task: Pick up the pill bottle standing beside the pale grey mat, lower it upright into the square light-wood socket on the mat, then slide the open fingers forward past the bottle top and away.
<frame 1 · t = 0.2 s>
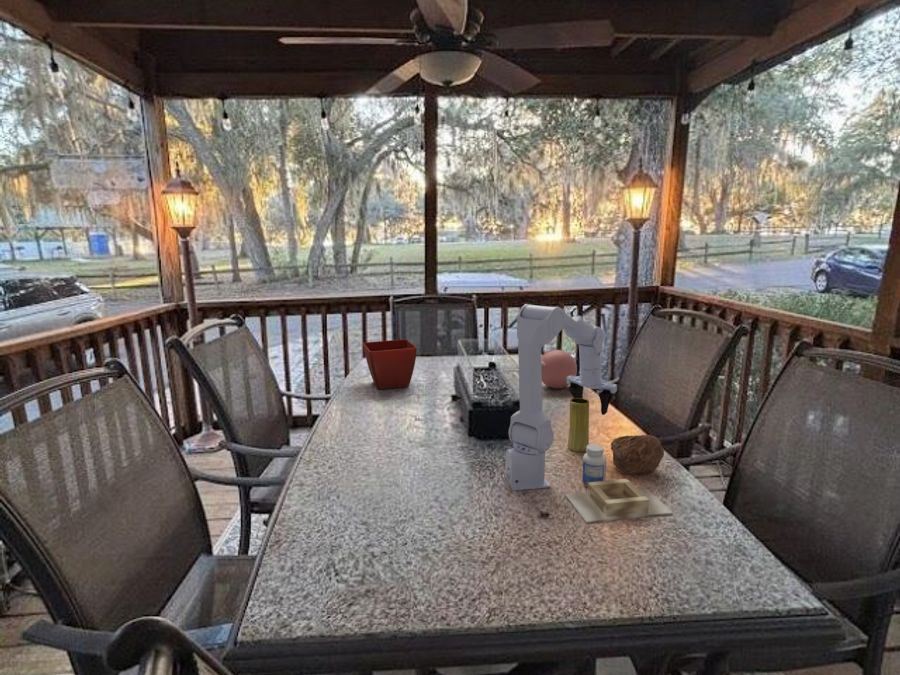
hand: (592, 410, 146), 11 cm above the table, tool pointing down, fingers open, 7 cm apart
pill bottle: (593, 484, 125), on the table
decorative rock: (635, 471, 132), on the table
vase: (578, 448, 146), on the table
balloon: (550, 388, 204), on the table
socket block: (616, 504, 116), on the table
plant pot: (390, 384, 211), on the table
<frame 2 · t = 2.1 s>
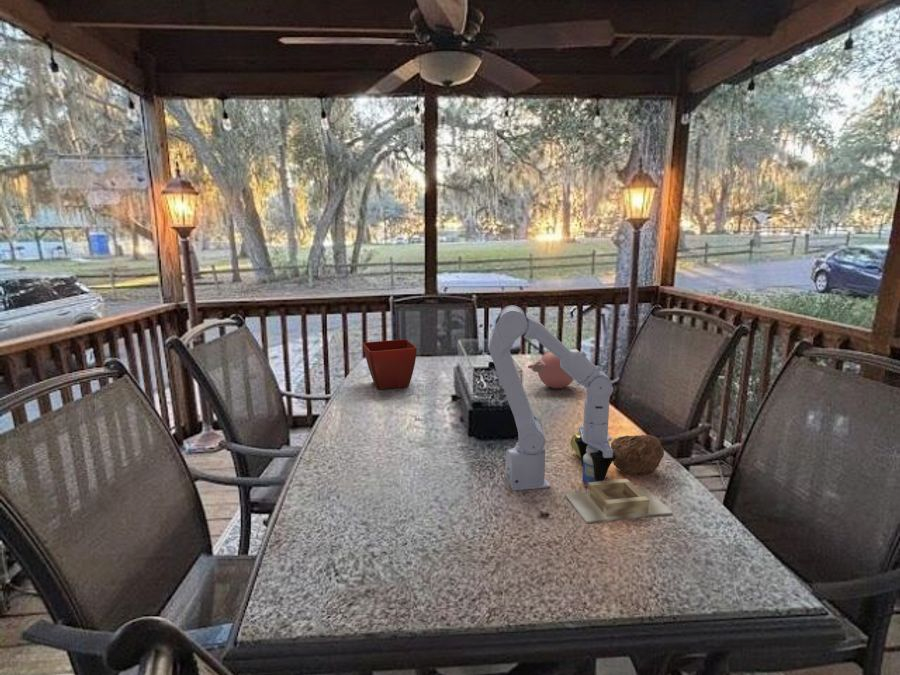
hand: (593, 472, 125), 3 cm above the table, tool pointing down, fingers open, 7 cm apart
vase: (580, 441, 143), point 3 cm above the table, touching gripper
everything else where it was.
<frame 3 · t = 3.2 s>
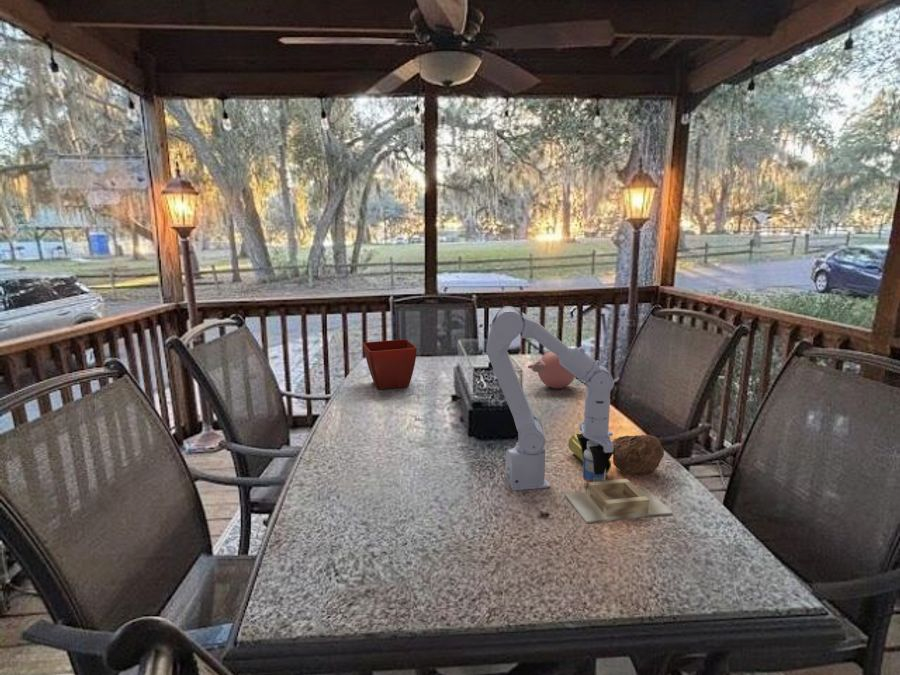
hand: (593, 468, 124), 4 cm above the table, tool pointing down, fingers closed on pill bottle, 5 cm apart
pill bottle: (593, 480, 125), point 1 cm above the table, touching gripper
vase: (578, 442, 143), point 3 cm above the table
everything else where it was.
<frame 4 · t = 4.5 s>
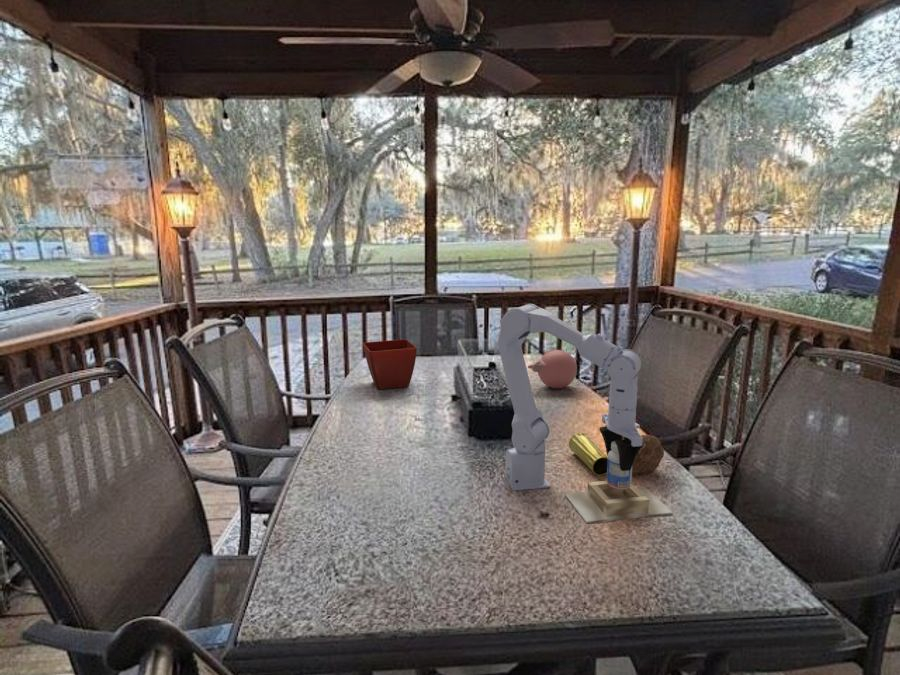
hand: (618, 463, 114), 10 cm above the table, tool pointing down, fingers closed on pill bottle, 5 cm apart
pill bottle: (618, 484, 115), point 5 cm above the table, touching gripper
everything else where it was.
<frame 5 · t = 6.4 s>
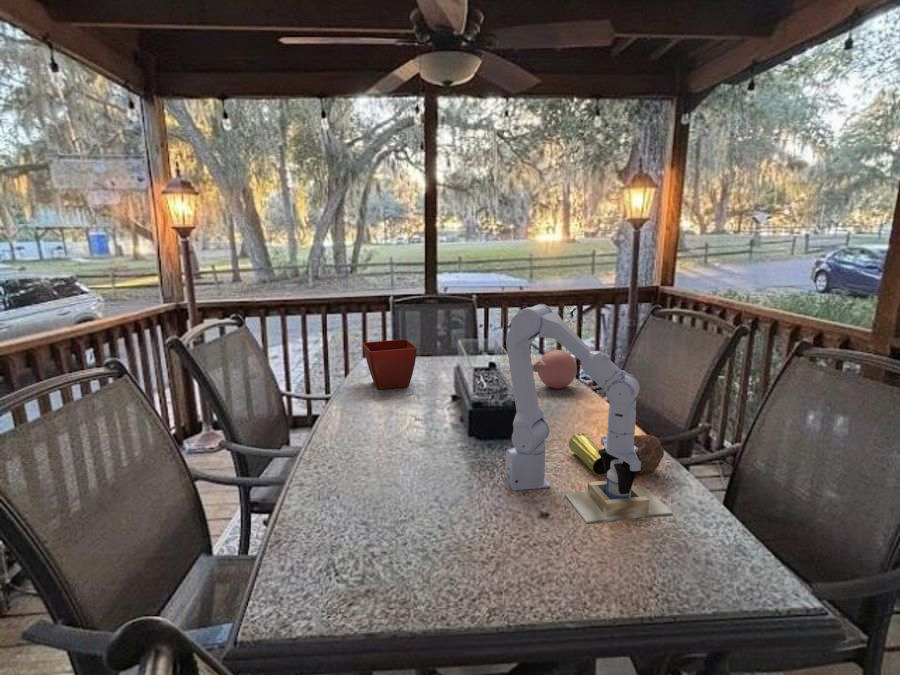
hand: (617, 486, 115), 4 cm above the table, tool pointing down, fingers closed on pill bottle, 5 cm apart
pill bottle: (617, 503, 116), resting on socket block, touching gripper
everything else where it was.
when the fingers open (4 cm above the table, at t = 6.4 s): pill bottle stays where it is, resting on socket block.
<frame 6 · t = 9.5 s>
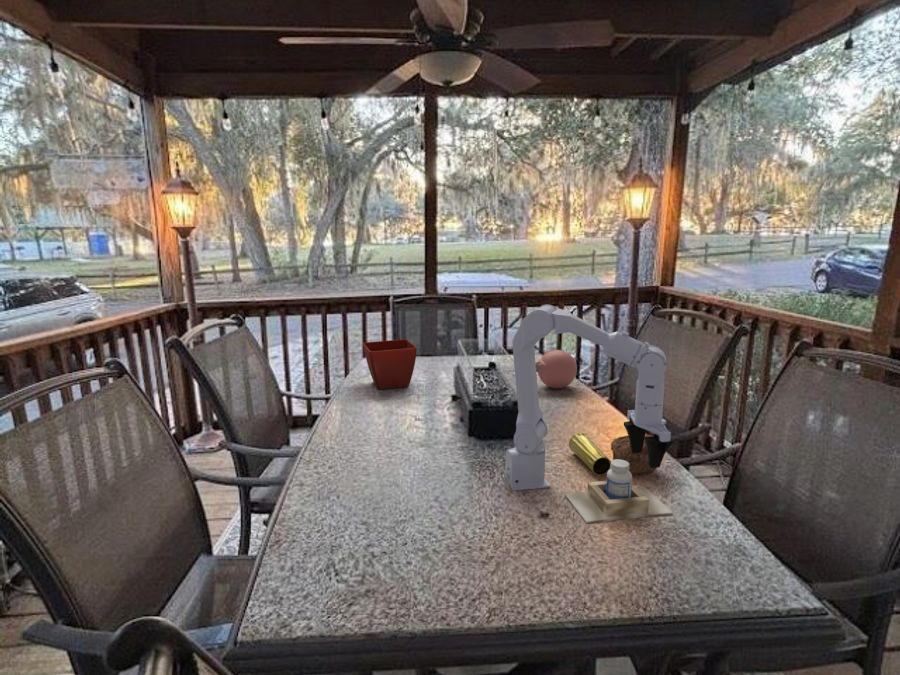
hand: (645, 459, 115), 10 cm above the table, tool pointing down, fingers open, 7 cm apart
pill bottle: (617, 503, 116), resting on socket block
everything else where it was.
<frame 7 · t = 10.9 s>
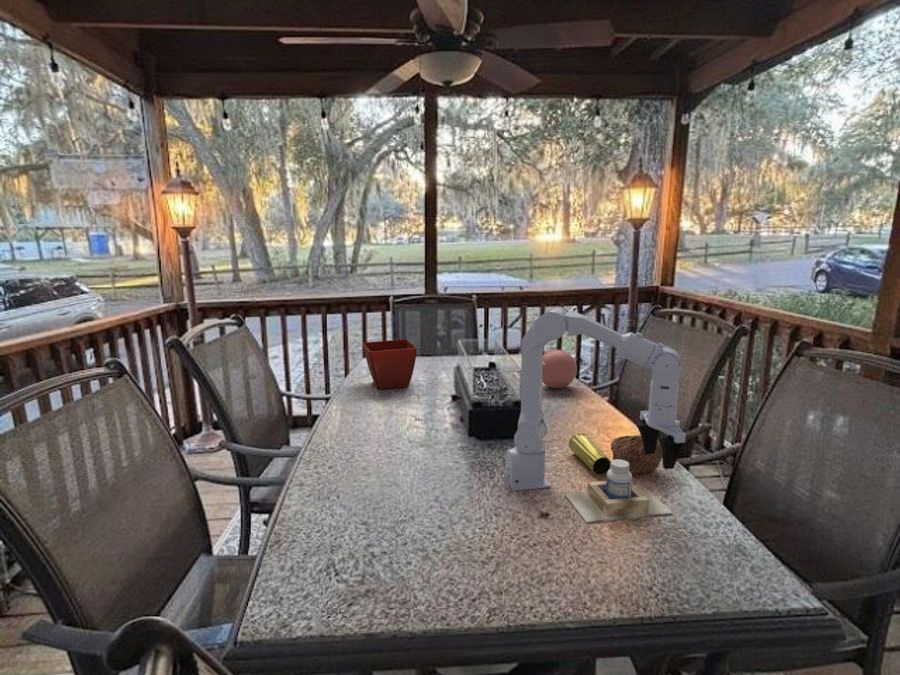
hand: (658, 460, 114), 10 cm above the table, tool pointing down, fingers open, 7 cm apart
nothing on the table moved.
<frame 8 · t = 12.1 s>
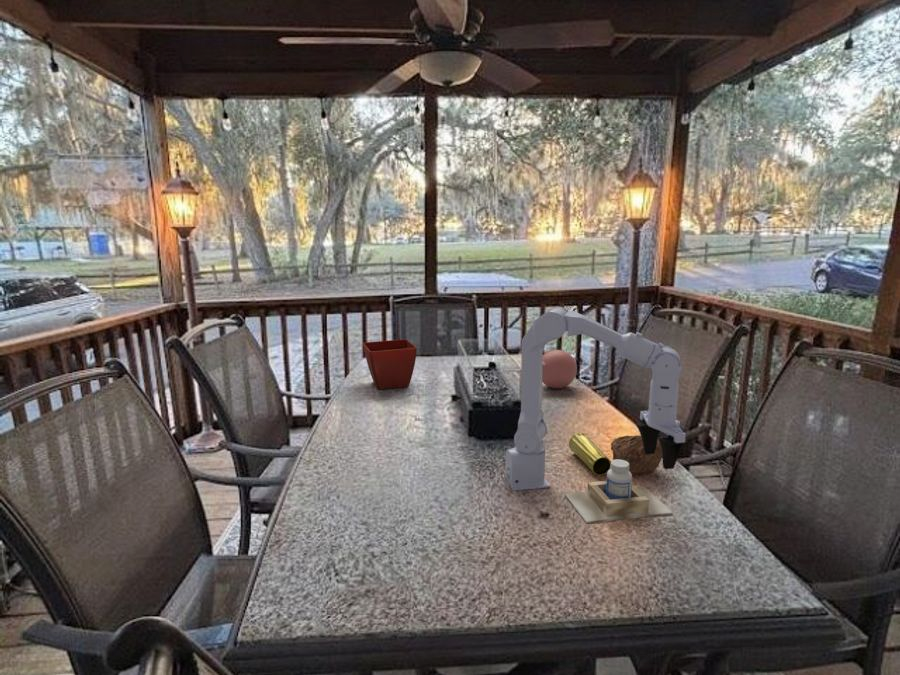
hand: (658, 460, 114), 10 cm above the table, tool pointing down, fingers open, 7 cm apart
nothing on the table moved.
at the end: pill bottle 0.3 cm off-centre on the socket block, point 0.2 cm above the socket block's base; pill bottle tilted 0°; the gripper is holding nothing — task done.
